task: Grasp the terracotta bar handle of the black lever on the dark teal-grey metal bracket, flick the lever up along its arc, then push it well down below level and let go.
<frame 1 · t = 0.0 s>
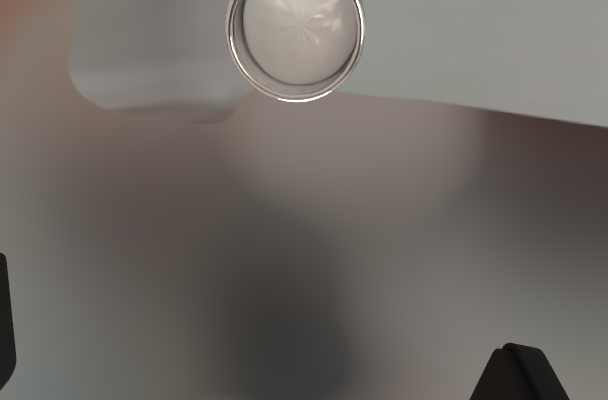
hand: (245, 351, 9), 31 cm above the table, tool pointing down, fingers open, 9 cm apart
metal tumbler: (309, 10, 36), on the table
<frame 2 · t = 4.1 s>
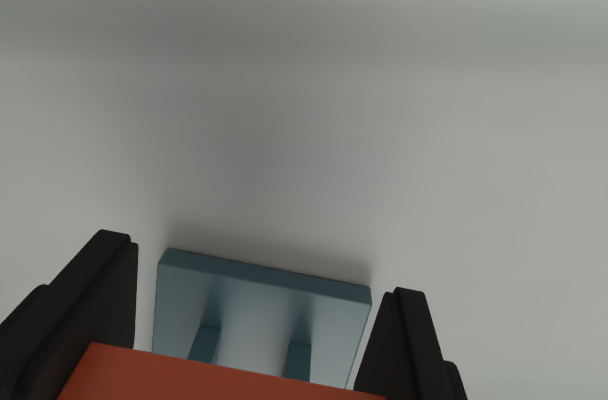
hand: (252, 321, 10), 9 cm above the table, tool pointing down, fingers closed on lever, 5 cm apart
bracket: (252, 352, 23), on the table
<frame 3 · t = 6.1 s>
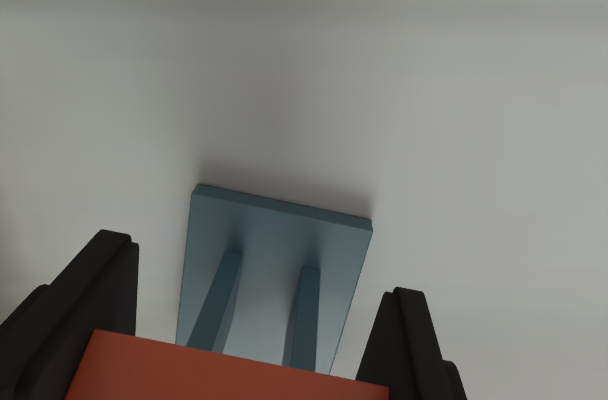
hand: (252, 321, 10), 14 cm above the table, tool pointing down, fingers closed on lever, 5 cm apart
bracket: (268, 281, 26), on the table
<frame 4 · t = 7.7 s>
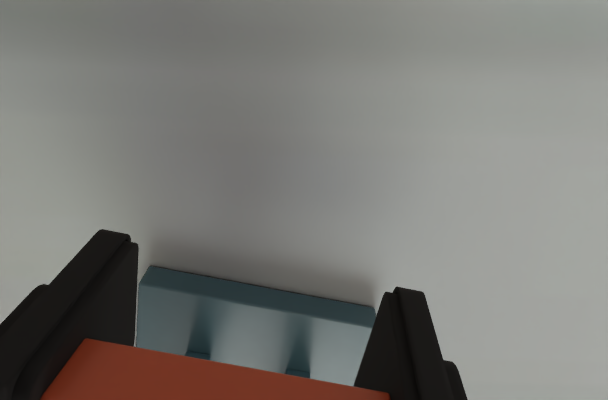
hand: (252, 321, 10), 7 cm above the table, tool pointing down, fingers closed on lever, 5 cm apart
bracket: (246, 377, 21), on the table
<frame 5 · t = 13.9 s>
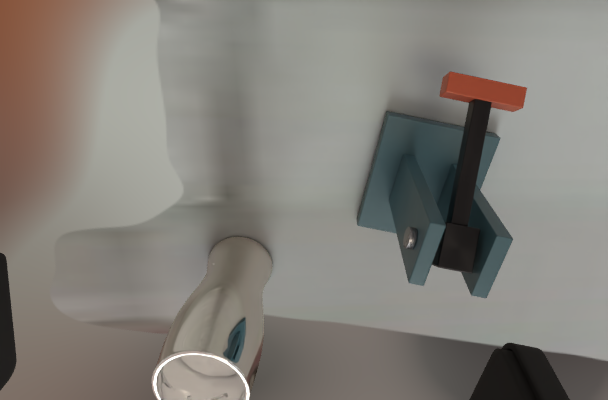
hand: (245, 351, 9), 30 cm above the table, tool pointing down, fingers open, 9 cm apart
bracket: (422, 178, 40), on the table
lever: (466, 174, 30), point 9 cm above the table, hinge at -26.6°
metal tumbler: (241, 262, 45), on the table
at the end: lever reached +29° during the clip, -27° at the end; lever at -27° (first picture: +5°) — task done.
